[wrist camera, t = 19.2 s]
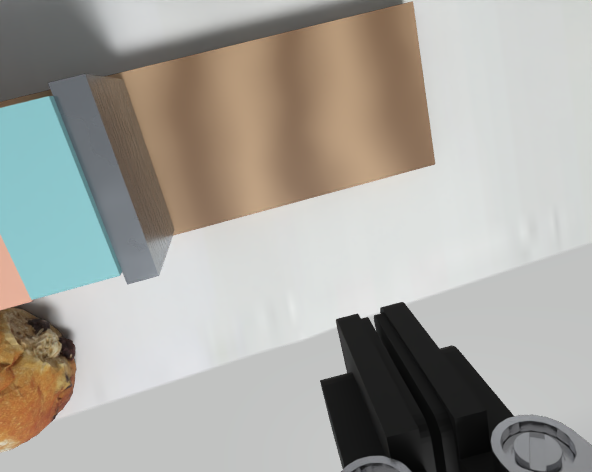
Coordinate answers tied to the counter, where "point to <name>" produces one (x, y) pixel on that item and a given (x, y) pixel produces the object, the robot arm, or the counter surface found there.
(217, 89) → the wooden book rack
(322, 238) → the counter surface
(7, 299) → the salmon pink block
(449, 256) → the counter surface
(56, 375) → the bread roll
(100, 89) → the bookend
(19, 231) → the teal rectangular block
